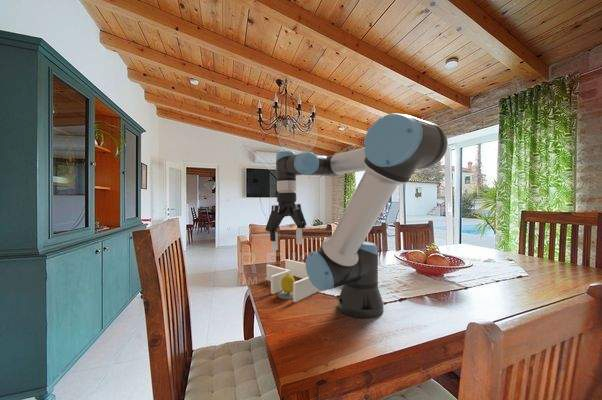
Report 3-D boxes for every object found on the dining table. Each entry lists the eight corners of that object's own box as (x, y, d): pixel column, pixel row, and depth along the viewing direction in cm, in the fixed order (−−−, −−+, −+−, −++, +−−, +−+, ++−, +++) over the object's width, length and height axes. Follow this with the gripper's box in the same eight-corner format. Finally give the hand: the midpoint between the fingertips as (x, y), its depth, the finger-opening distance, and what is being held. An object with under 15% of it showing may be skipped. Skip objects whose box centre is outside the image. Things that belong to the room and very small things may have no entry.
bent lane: (331, 285, 110) (331, 269, 110) (295, 302, 93) (295, 283, 93) (287, 273, 128) (286, 259, 128) (250, 285, 111) (250, 269, 111)
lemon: (292, 297, 97) (292, 276, 96) (279, 295, 98) (278, 275, 98) (297, 292, 102) (297, 272, 102) (284, 290, 104) (284, 271, 104)
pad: (302, 294, 100) (302, 293, 100) (288, 301, 94) (288, 300, 94) (288, 289, 106) (288, 288, 106) (273, 295, 100) (273, 294, 100)
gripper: (300, 192, 111) (301, 241, 111) (254, 192, 92) (256, 251, 93) (314, 191, 106) (315, 242, 106) (268, 192, 87) (270, 254, 88)
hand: (287, 246), depth 99 cm, fingers open, 13 cm apart
